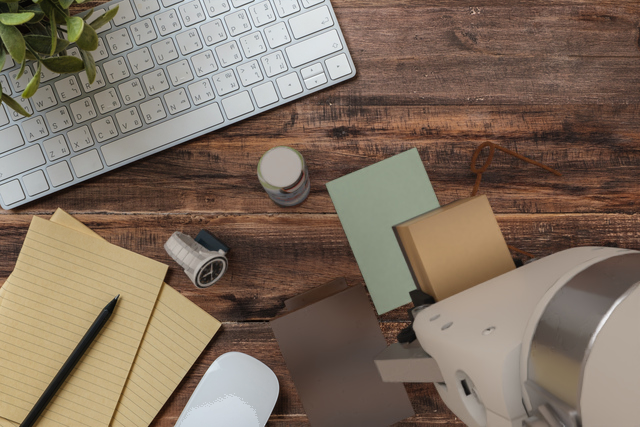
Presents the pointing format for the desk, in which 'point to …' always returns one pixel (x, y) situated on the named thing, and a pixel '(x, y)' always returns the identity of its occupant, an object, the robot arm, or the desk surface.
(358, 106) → the desk surface
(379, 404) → the pedestal
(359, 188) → the mat
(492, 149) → the glasses
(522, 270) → the robot arm
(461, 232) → the tan wooden block
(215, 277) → the watch
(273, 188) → the beverage can
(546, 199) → the desk surface
